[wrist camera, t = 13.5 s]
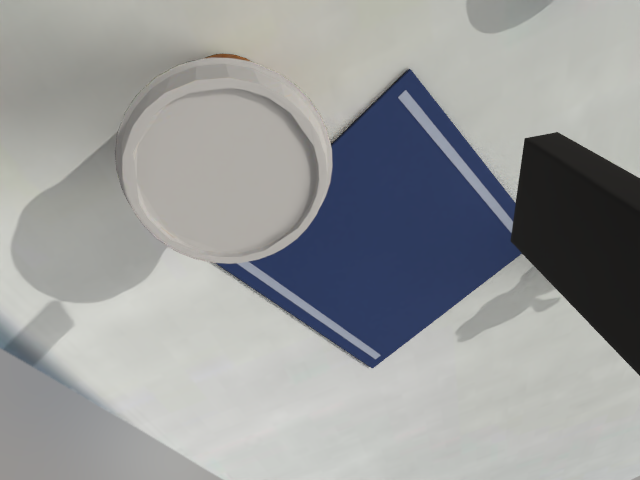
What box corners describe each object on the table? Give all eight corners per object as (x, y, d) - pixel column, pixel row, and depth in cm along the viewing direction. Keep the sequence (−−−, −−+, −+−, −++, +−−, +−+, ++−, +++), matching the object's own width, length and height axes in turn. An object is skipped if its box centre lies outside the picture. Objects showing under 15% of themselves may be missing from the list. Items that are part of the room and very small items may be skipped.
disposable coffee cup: (196, -12, 26) (177, 7, 16) (328, 84, 30) (380, 148, 20) (125, 126, 29) (70, 216, 19) (253, 195, 33) (264, 299, 23)
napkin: (213, 259, 35) (212, 261, 35) (409, 68, 30) (410, 69, 30) (371, 366, 45) (372, 368, 45) (540, 236, 40) (542, 237, 39)
